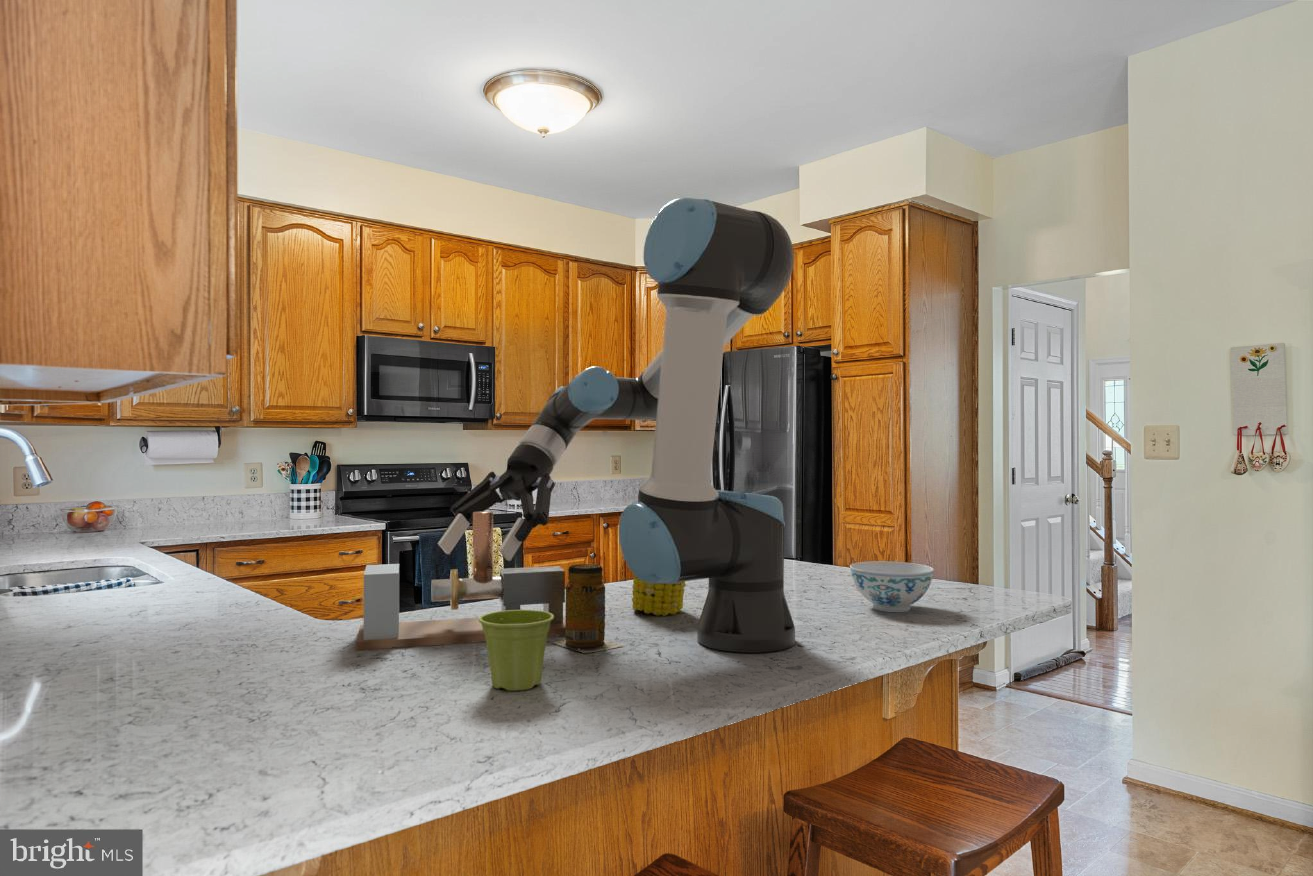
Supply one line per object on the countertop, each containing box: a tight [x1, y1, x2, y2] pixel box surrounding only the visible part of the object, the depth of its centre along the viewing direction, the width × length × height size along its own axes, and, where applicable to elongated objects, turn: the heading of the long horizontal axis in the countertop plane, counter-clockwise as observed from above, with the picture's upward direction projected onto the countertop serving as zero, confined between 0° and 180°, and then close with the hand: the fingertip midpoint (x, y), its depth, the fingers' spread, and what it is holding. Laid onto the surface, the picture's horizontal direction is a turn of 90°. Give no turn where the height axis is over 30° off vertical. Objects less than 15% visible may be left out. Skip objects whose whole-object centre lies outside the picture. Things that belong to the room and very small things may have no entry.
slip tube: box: [430, 510, 503, 611], centre depth 132 cm, size 20×6×16 cm, turn 107°
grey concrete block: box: [499, 565, 566, 624], centre depth 133 cm, size 10×5×9 cm, turn 107°
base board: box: [355, 617, 566, 651], centre depth 130 cm, size 32×12×1 cm, turn 107°
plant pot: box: [478, 609, 554, 692], centre depth 103 cm, size 9×9×9 cm
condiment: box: [552, 563, 623, 654], centre depth 123 cm, size 7×8×12 cm
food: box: [631, 574, 687, 617], centre depth 147 cm, size 15×12×10 cm
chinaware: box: [849, 560, 935, 613], centre depth 150 cm, size 15×15×8 cm
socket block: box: [363, 563, 400, 640], centre depth 126 cm, size 5×10×10 cm, turn 17°
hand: (472, 552), depth 129 cm, fingers open, 13 cm apart
